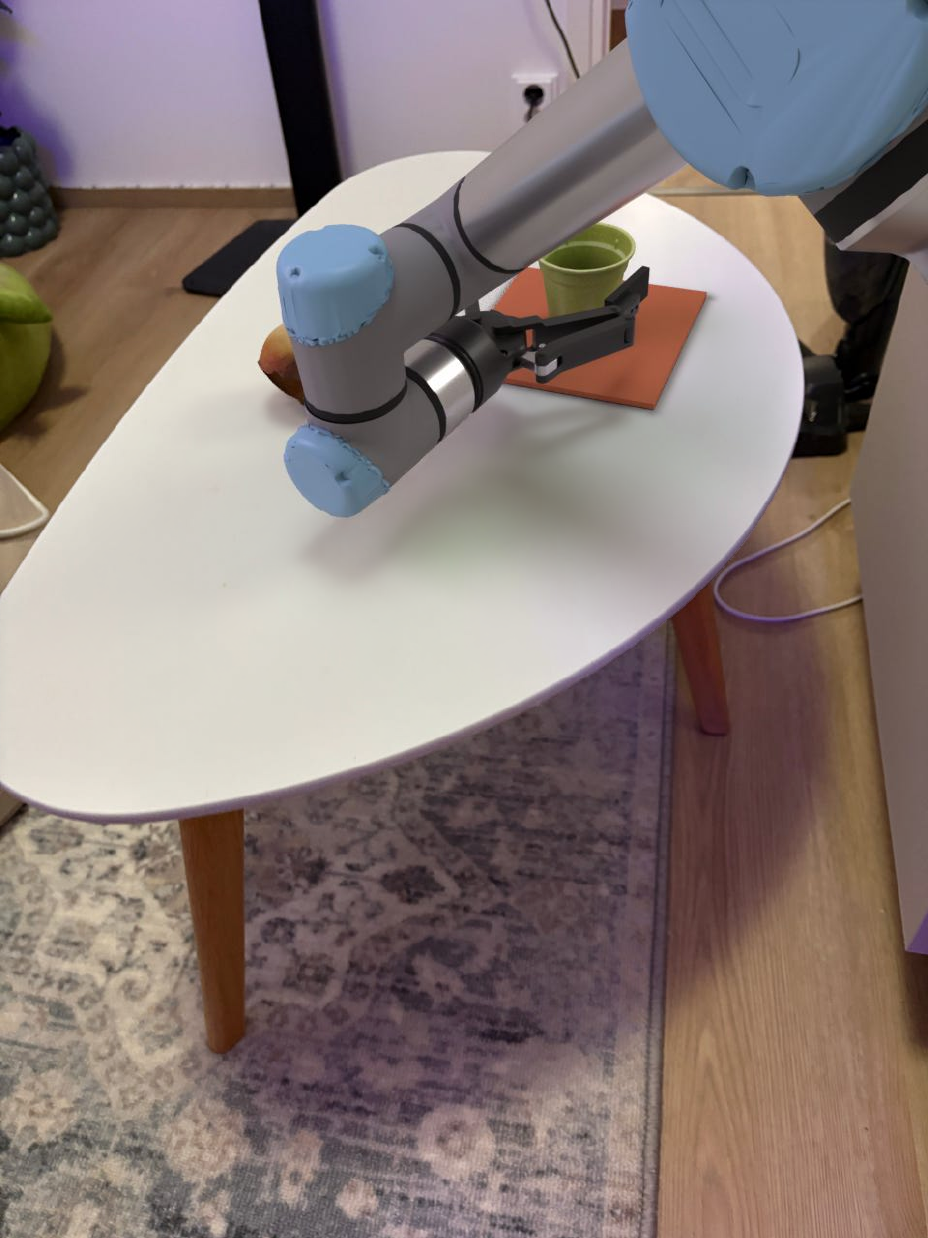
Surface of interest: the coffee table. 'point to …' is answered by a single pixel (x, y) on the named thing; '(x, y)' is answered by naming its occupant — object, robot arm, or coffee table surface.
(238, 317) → the coffee table surface
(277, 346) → the fruit
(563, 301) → the plant pot
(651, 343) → the terracotta mat
